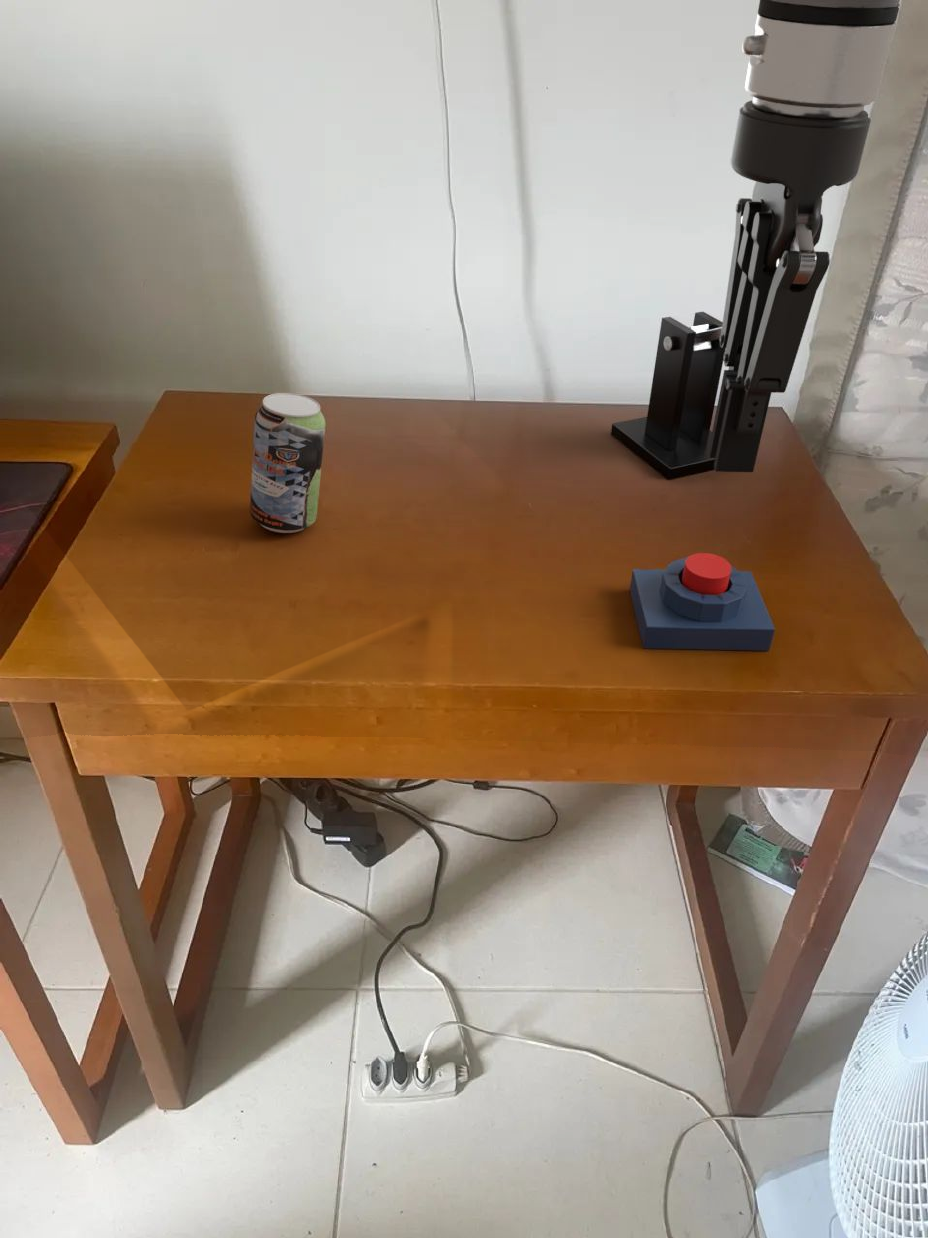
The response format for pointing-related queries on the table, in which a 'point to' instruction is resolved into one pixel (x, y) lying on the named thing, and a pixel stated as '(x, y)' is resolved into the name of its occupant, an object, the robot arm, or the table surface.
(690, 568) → the button
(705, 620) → the button box
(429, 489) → the table surface
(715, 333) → the lever
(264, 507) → the beverage can
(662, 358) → the bracket
